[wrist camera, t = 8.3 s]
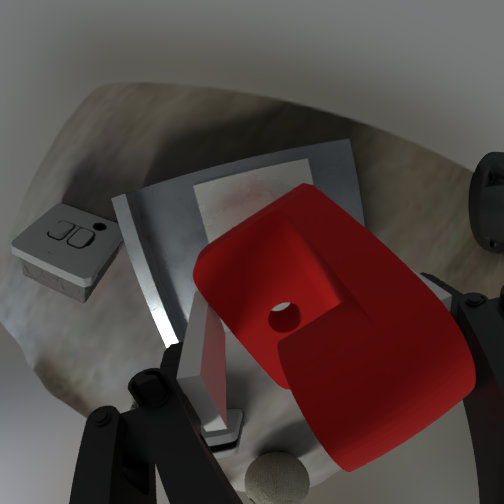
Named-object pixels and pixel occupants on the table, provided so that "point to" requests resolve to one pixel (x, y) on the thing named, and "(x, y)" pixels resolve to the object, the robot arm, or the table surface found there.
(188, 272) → the grey ridged box
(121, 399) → the table surface
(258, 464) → the fruit
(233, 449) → the grey curved slab
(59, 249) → the electrical switch
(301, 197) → the bracket
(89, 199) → the table surface
